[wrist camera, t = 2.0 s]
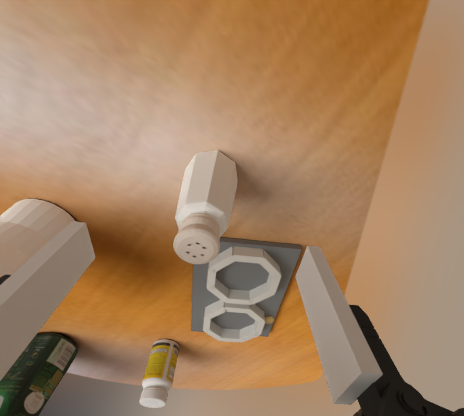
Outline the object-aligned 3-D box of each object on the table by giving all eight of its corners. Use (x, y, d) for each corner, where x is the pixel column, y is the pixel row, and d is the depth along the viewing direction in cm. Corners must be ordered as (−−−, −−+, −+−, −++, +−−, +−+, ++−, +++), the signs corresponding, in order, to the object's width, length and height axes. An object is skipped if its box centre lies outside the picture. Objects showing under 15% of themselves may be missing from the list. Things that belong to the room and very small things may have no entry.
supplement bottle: (149, 345, 41) (130, 403, 33) (161, 335, 39) (145, 394, 32) (171, 353, 42) (158, 411, 35) (184, 344, 40) (173, 403, 33)
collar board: (195, 234, 26) (192, 247, 24) (300, 244, 27) (305, 258, 25) (191, 326, 37) (189, 340, 35) (267, 331, 38) (269, 346, 36)
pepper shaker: (231, 202, 24) (229, 287, 15) (182, 191, 23) (147, 272, 14) (245, 156, 21) (253, 223, 12) (189, 142, 20) (152, 201, 11)
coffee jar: (41, 354, 43) (-71, 518, 27) (14, 332, 39) (-136, 511, 23) (87, 351, 42) (-1, 519, 26) (65, 328, 38) (-55, 512, 22)
